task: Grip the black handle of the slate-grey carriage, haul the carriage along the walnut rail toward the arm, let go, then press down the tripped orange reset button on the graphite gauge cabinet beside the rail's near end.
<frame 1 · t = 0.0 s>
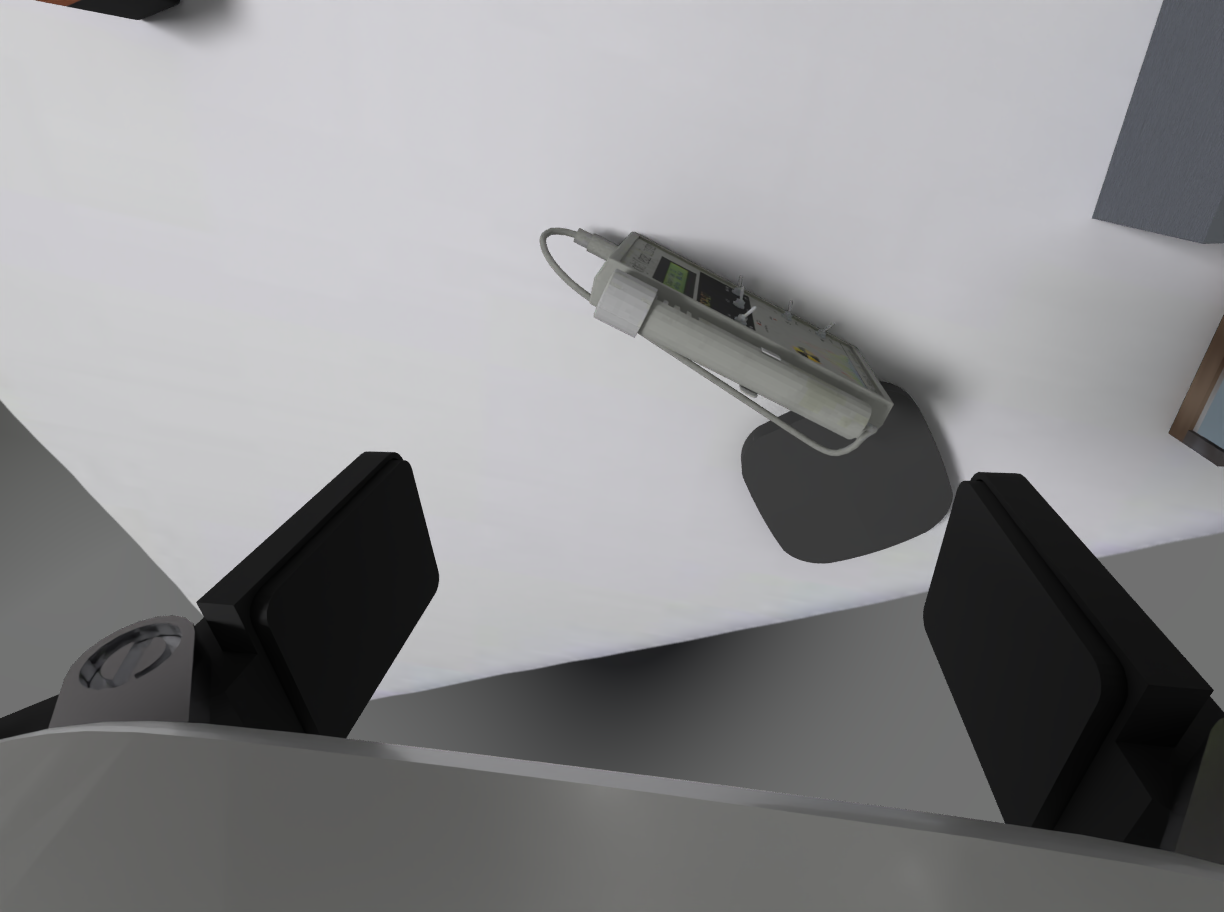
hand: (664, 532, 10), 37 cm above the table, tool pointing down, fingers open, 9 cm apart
geiger counter: (704, 298, 44), on the table
gauge cabinet: (1203, 107, 34), on the table
media streaming box: (839, 469, 50), on the table
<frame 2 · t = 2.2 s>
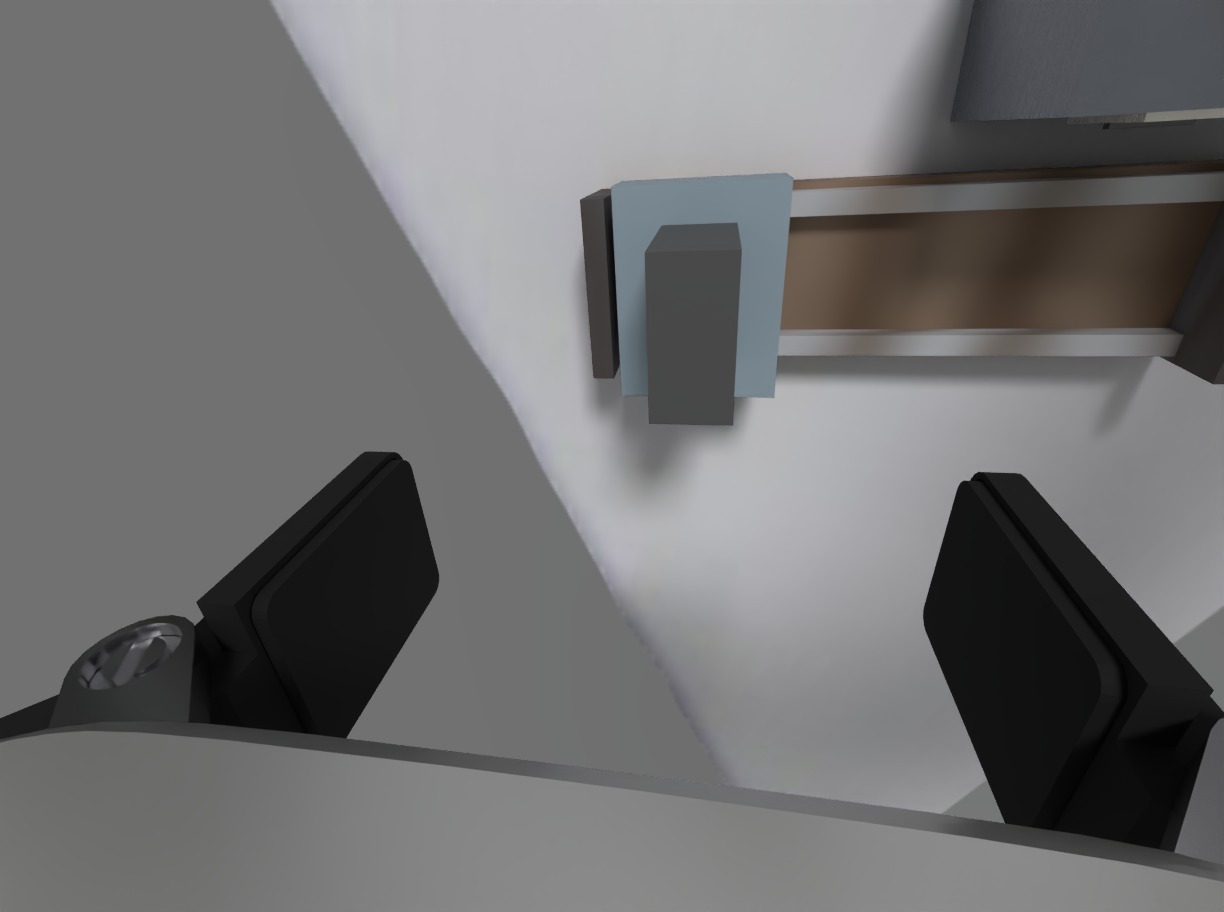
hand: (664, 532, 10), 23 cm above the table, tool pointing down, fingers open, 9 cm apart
rail: (877, 266, 28), on the table
carriage: (696, 308, 23), point 7 cm above the table, slide at 8.5 cm
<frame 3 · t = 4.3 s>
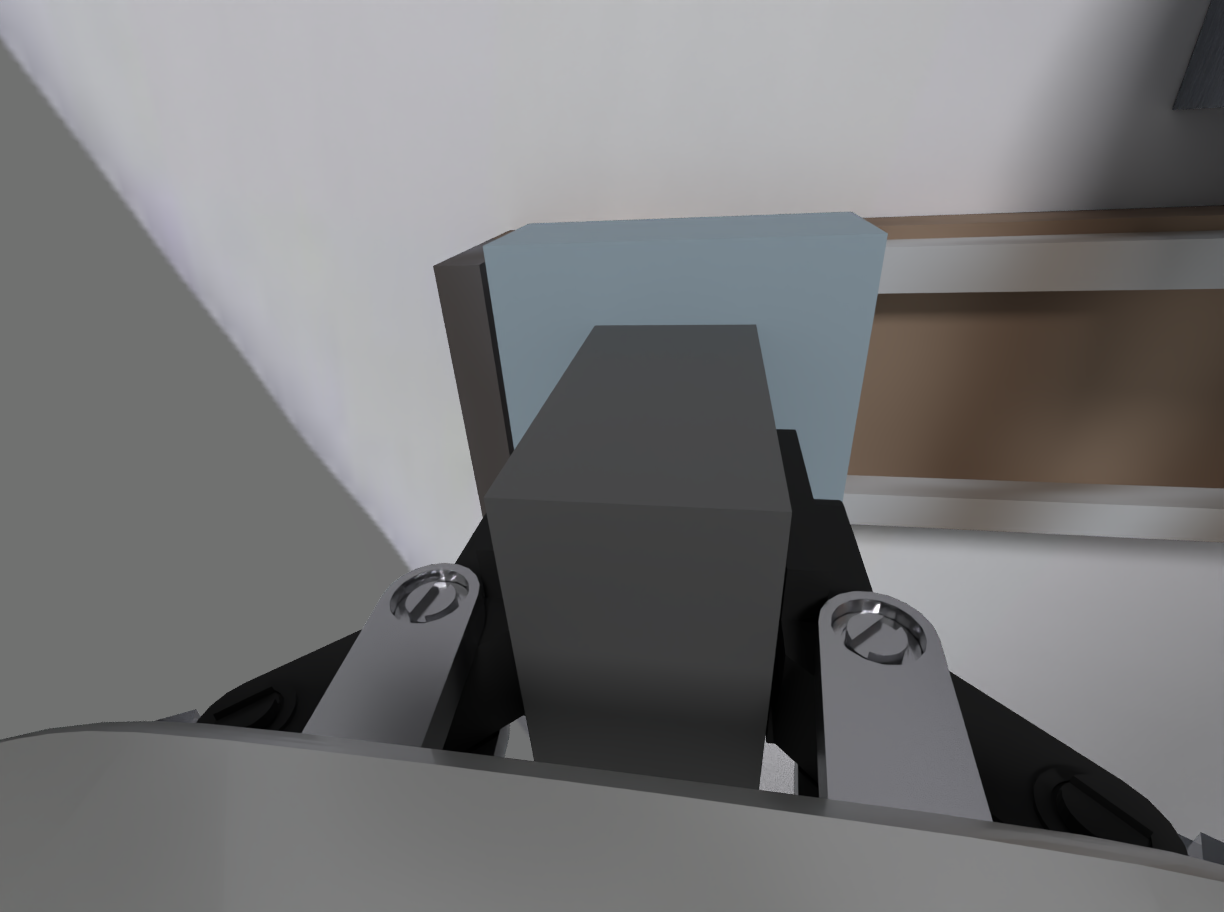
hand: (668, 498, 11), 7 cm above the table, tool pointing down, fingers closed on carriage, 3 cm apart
rail: (997, 368, 16), on the table
carriage: (668, 503, 11), point 7 cm above the table, slide at 8.5 cm, touching gripper
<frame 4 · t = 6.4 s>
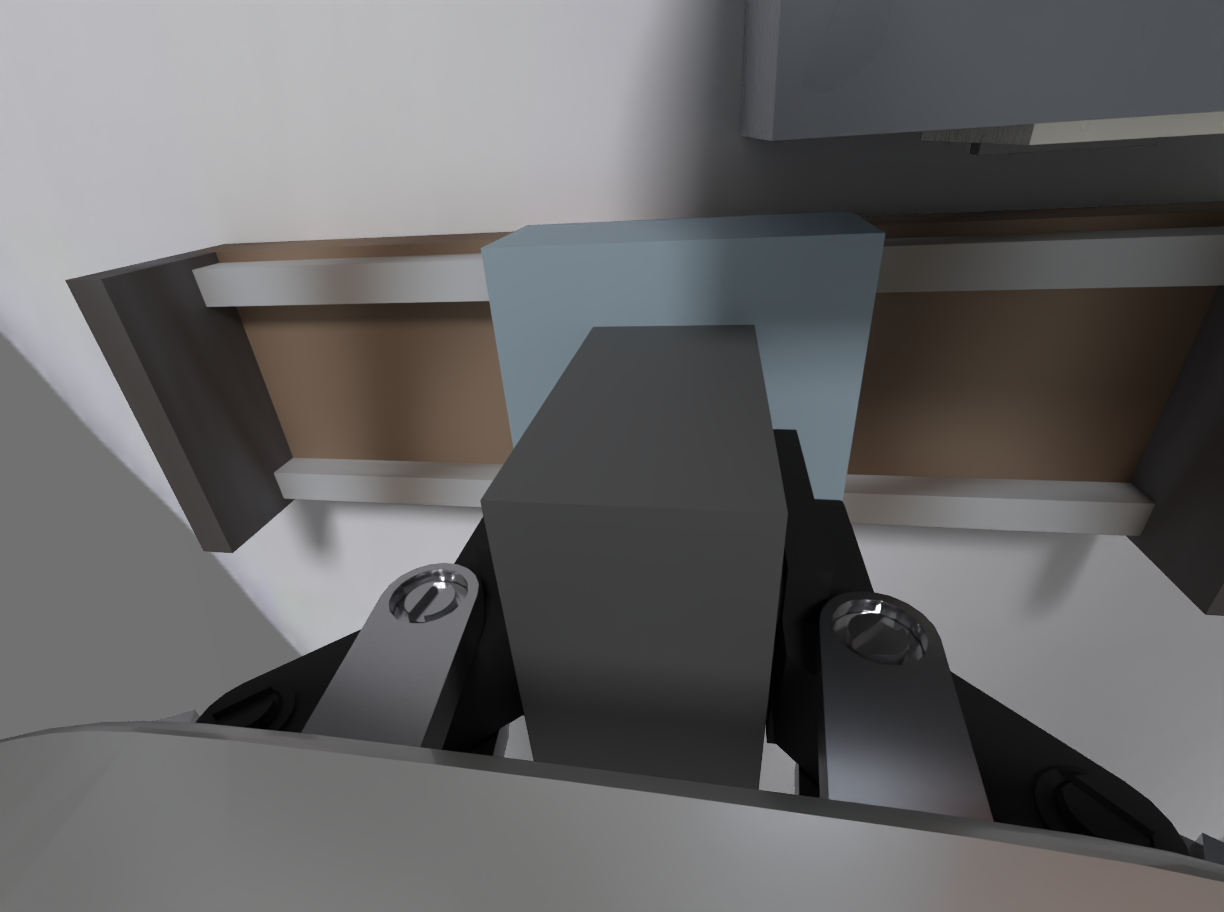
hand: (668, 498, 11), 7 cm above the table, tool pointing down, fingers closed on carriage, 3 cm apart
rail: (663, 366, 17), on the table
carriage: (667, 504, 11), point 7 cm above the table, slide at -0.7 cm, touching gripper
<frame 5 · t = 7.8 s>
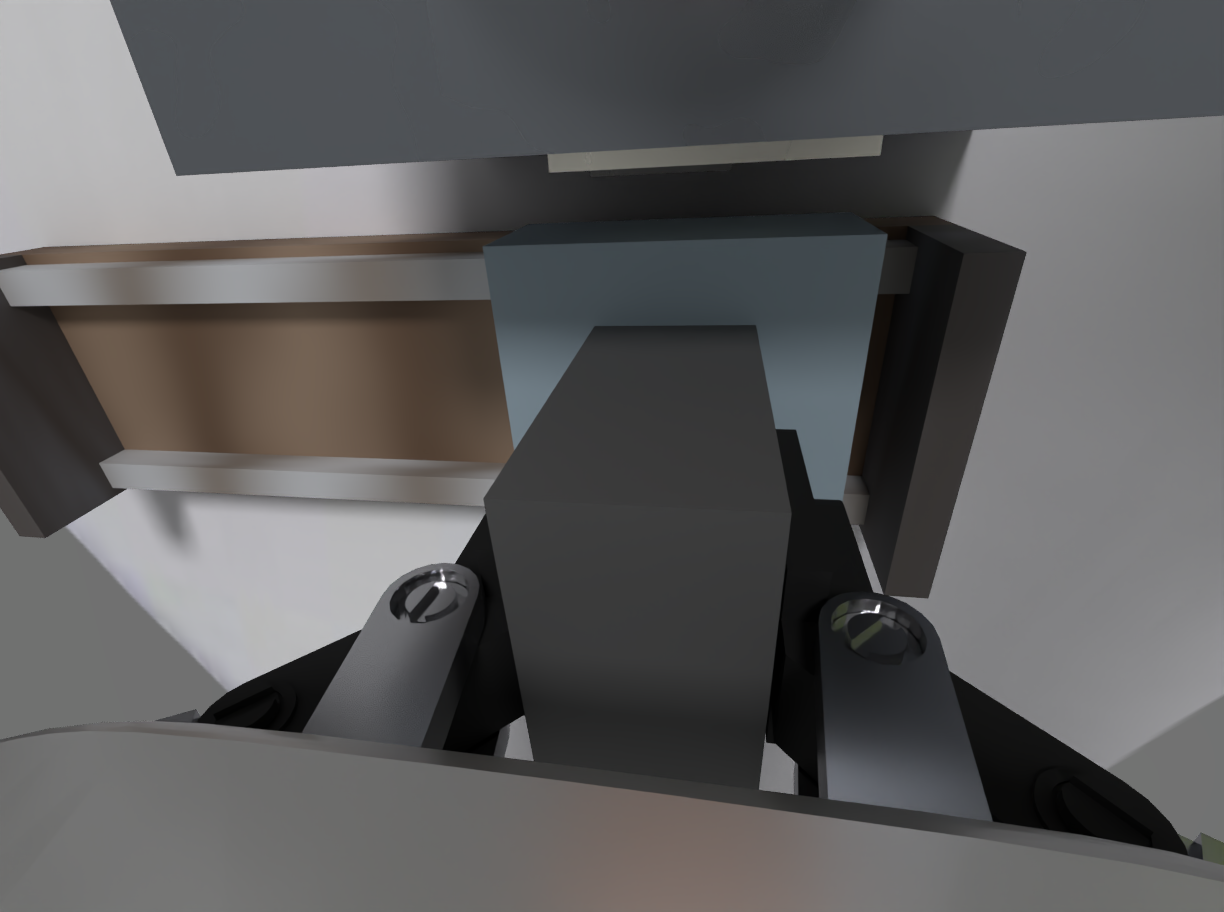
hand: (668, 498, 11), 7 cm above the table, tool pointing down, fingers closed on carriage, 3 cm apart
rail: (454, 365, 18), on the table
carriage: (668, 504, 11), point 7 cm above the table, slide at -7.4 cm, touching gripper
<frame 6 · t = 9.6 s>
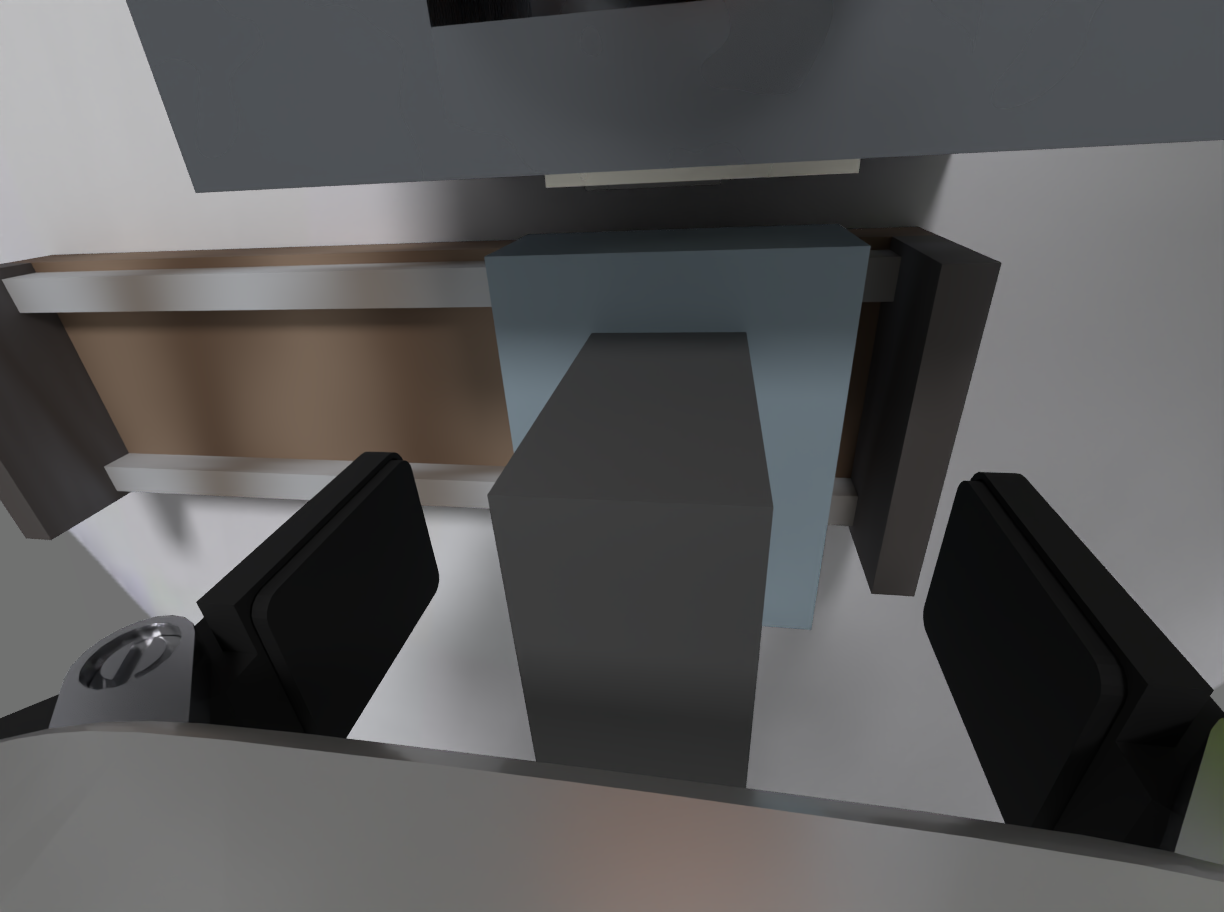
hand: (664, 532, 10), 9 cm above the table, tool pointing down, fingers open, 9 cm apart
rail: (454, 370, 19), on the table
carriage: (662, 504, 11), point 7 cm above the table, slide at -7.5 cm
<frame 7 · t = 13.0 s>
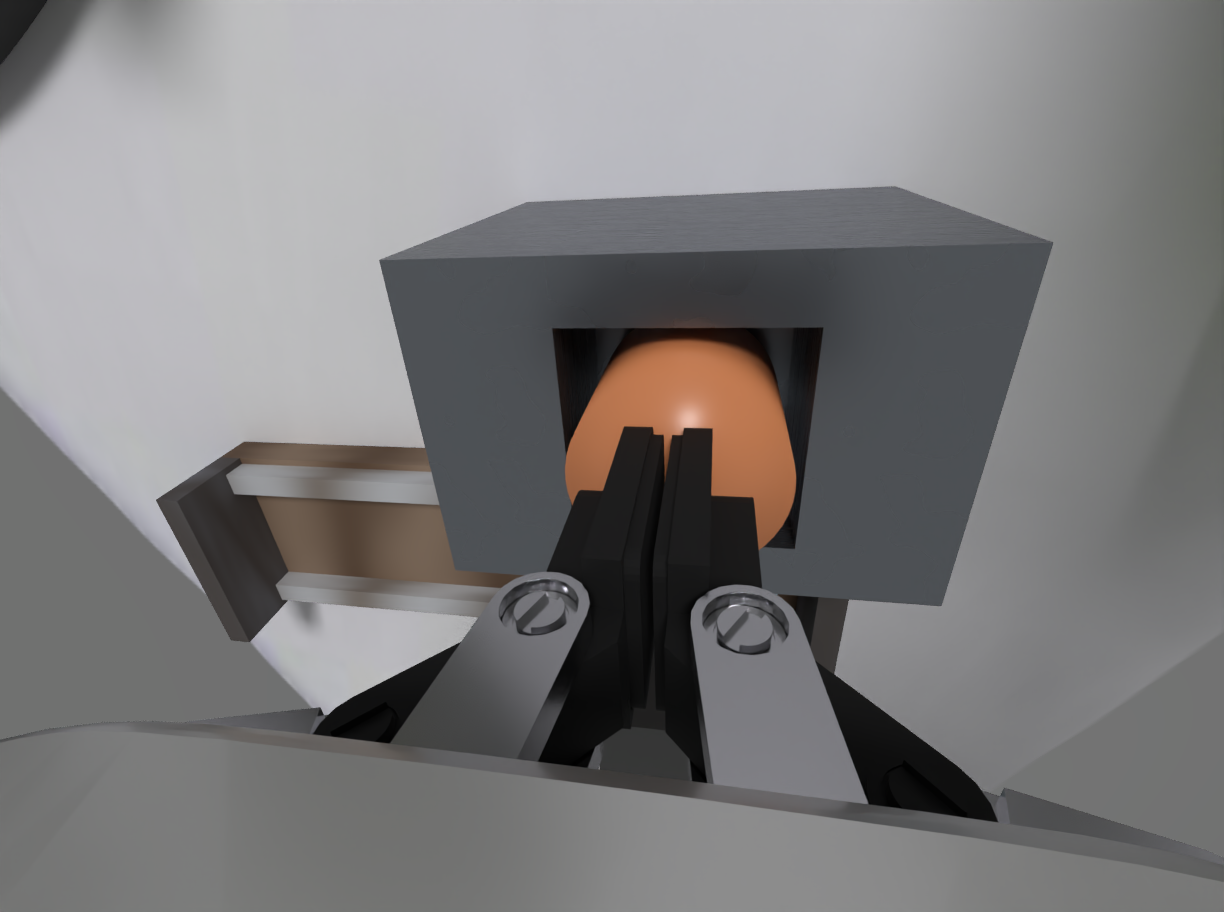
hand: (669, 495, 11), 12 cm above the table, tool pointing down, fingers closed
rail: (524, 524, 27), on the table
reset button: (683, 434, 13), point 9 cm above the table, slide at 0.5 cm, touching gripper
gauge cabinet: (698, 314, 21), on the table
carriage: (669, 666, 20), point 7 cm above the table, slide at -7.5 cm
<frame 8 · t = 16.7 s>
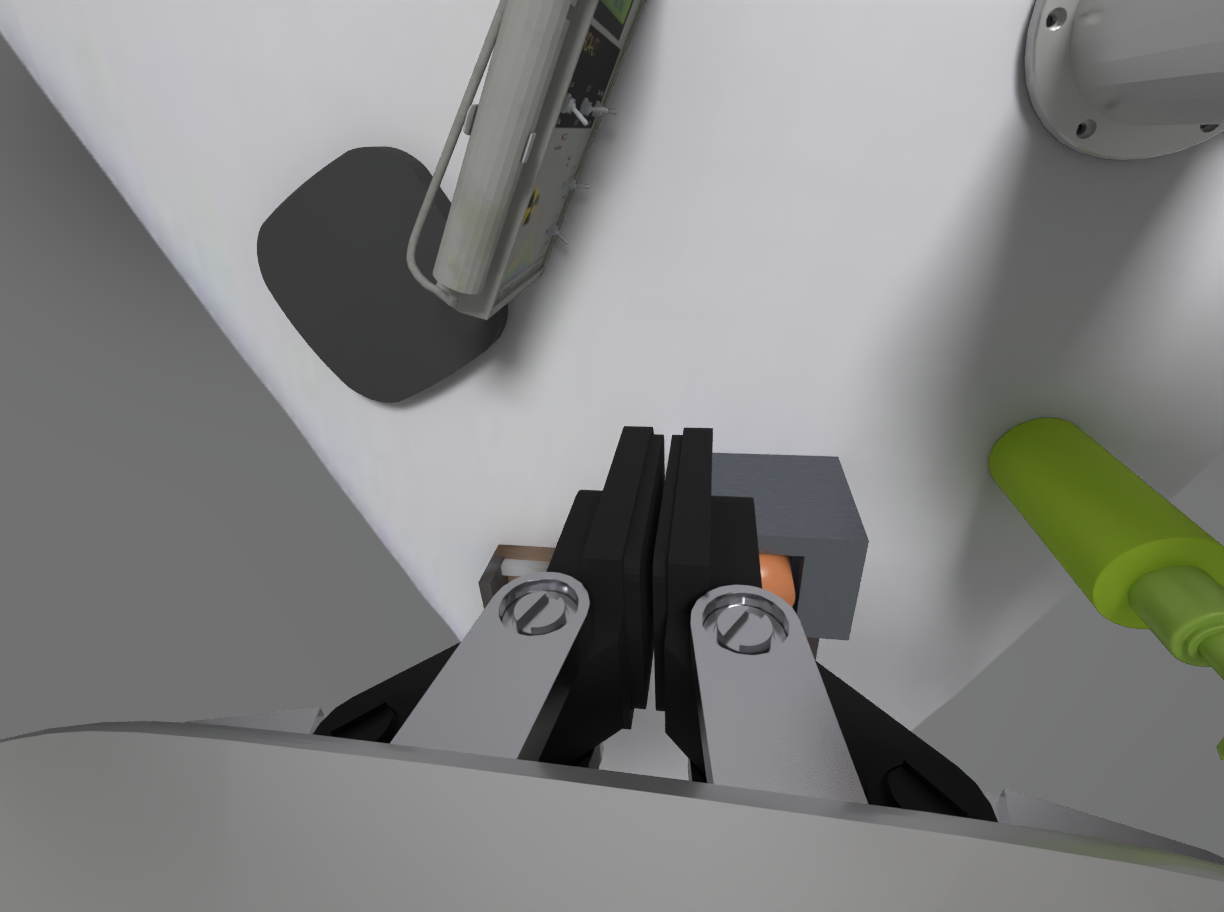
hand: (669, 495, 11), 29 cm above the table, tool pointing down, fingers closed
soap dispenser: (1034, 461, 40), on the table
rail: (650, 589, 51), on the table
geiger counter: (584, 62, 33), on the table
reset button: (756, 573, 37), point 9 cm above the table, slide at 1.1 cm
gauge cabinet: (750, 499, 45), on the table
media streaming box: (394, 280, 41), on the table
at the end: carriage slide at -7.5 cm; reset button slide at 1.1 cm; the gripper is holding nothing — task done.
